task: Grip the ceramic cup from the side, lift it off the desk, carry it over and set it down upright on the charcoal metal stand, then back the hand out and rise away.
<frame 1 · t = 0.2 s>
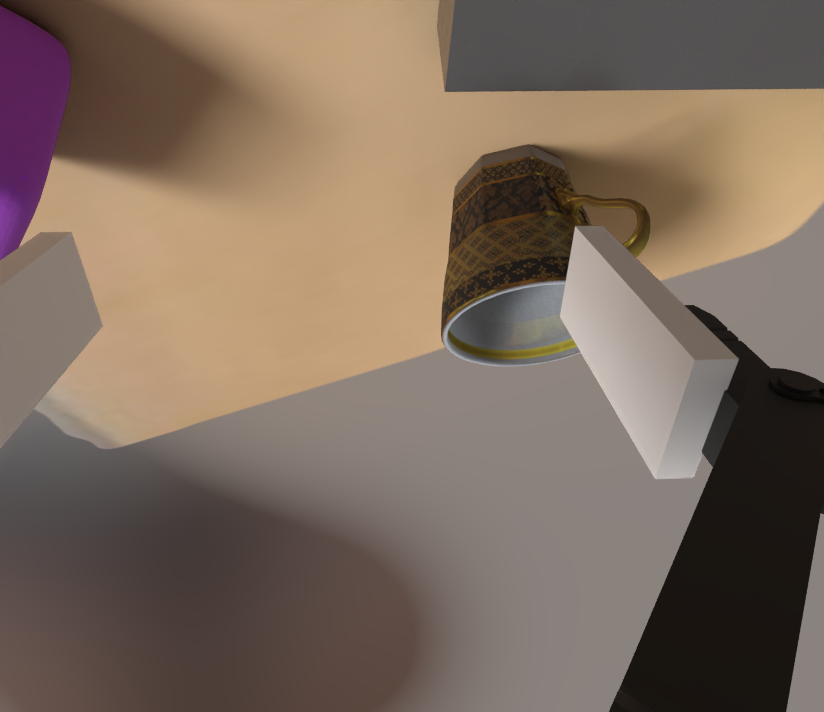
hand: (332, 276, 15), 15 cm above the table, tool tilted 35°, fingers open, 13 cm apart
ceramic cup: (524, 167, 33), on the table
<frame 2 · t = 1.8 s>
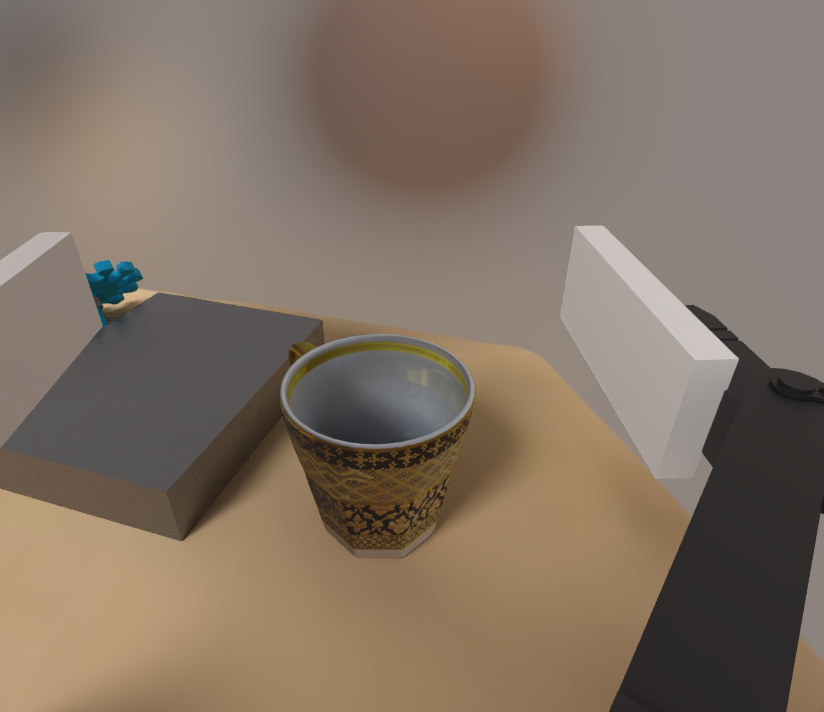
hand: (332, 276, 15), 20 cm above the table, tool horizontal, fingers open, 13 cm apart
ceramic cup: (364, 504, 35), on the table
stand: (173, 411, 42), on the table
gear: (91, 333, 52), on the table
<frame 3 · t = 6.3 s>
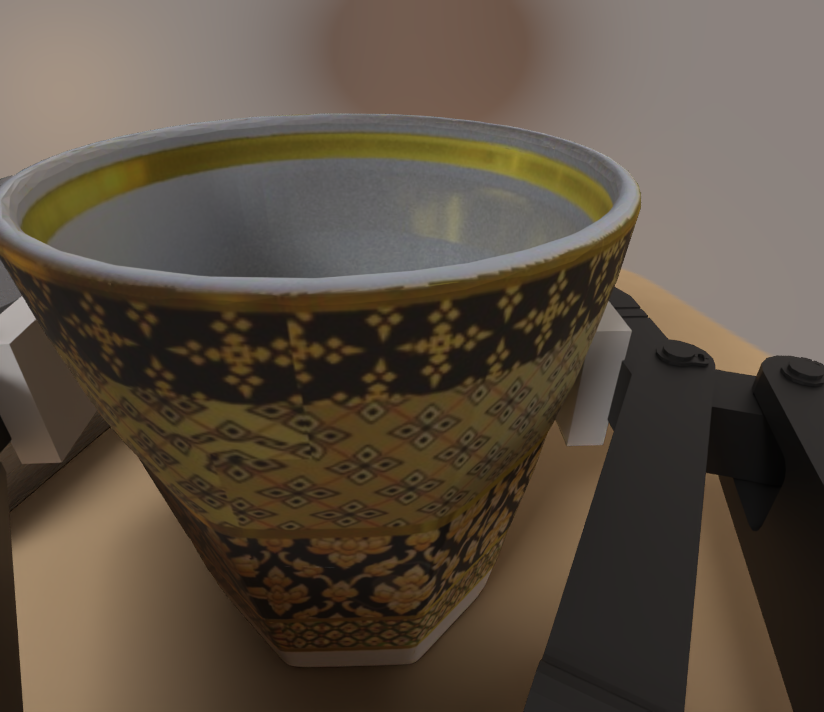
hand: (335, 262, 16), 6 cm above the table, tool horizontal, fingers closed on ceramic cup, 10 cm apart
ceramic cup: (322, 524, 16), on the table, touching gripper
when the fingers open (11 cm above the table, at t = 11.4 s): ceramic cup drops 1 cm, resting on stand.
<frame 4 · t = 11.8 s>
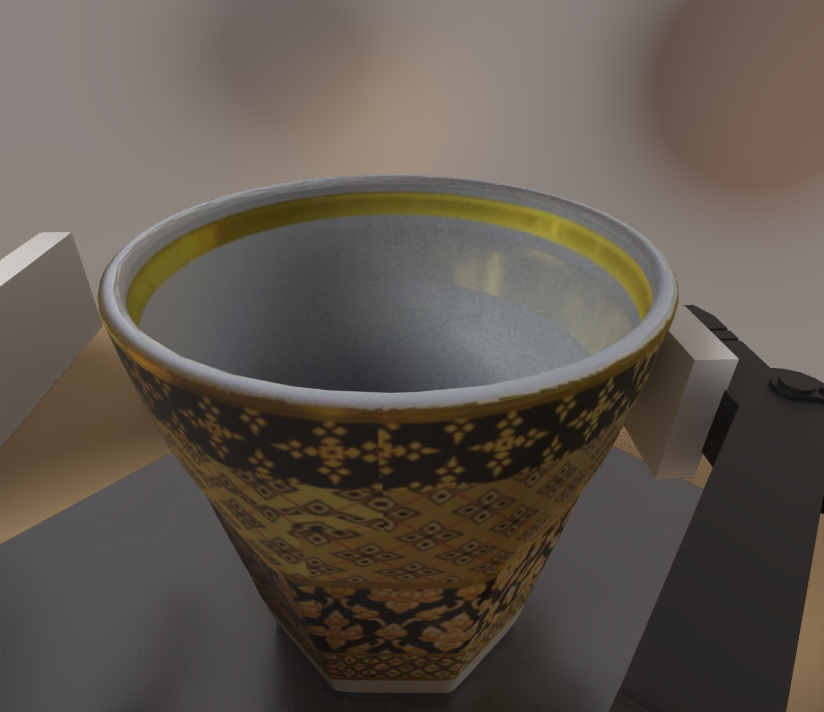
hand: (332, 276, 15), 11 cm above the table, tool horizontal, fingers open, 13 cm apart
ceramic cup: (362, 552, 17), point 4 cm above the table, touching stand
stand: (350, 637, 18), on the table
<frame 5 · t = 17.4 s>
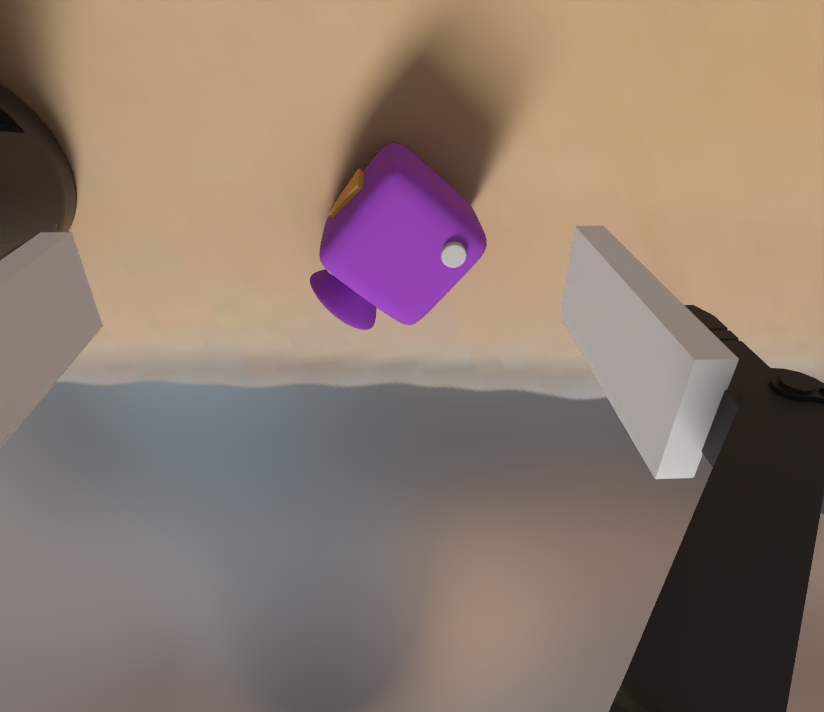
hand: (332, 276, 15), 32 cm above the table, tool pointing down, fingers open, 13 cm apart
toy camera: (388, 228, 47), on the table
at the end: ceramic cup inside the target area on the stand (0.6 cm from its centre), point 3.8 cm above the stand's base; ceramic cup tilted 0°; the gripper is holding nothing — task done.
